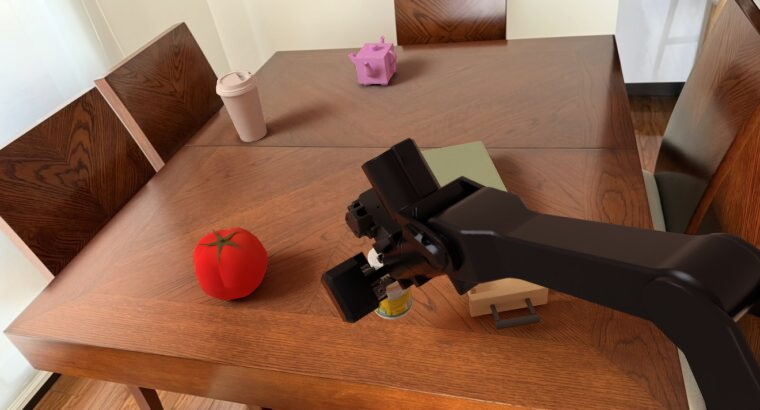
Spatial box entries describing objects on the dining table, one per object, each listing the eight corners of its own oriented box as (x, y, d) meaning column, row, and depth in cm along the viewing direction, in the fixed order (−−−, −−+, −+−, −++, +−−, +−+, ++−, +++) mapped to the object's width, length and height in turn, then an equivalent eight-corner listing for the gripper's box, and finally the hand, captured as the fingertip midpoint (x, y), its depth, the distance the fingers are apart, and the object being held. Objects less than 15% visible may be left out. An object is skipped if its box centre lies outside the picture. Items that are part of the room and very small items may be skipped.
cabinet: (511, 224, 86) (512, 201, 83) (441, 236, 86) (440, 213, 83) (481, 162, 101) (481, 140, 98) (422, 172, 101) (420, 151, 98)
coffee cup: (271, 141, 119) (253, 83, 109) (232, 148, 119) (209, 91, 109) (274, 121, 126) (257, 65, 117) (236, 127, 126) (216, 72, 117)
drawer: (557, 326, 69) (560, 309, 66) (478, 340, 69) (478, 324, 66) (507, 221, 86) (508, 205, 84) (444, 232, 86) (443, 216, 84)
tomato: (192, 295, 84) (164, 247, 77) (242, 251, 90) (221, 204, 83) (240, 324, 78) (215, 275, 70) (289, 274, 84) (272, 226, 77)
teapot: (363, 65, 145) (357, 31, 139) (407, 65, 141) (403, 30, 135) (342, 95, 132) (335, 60, 126) (390, 96, 128) (385, 59, 122)
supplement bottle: (419, 312, 66) (412, 261, 60) (382, 327, 65) (370, 277, 59) (403, 284, 70) (395, 234, 64) (368, 298, 69) (356, 249, 63)
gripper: (457, 142, 54) (407, 180, 69) (307, 222, 47) (286, 246, 62) (510, 232, 54) (448, 251, 68) (366, 326, 47) (331, 325, 61)
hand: (381, 265), depth 65 cm, fingers closed on supplement bottle, 5 cm apart
